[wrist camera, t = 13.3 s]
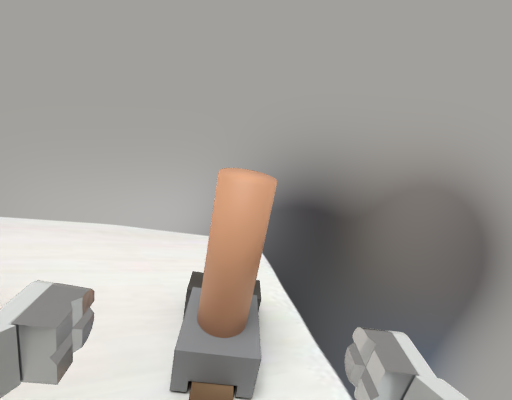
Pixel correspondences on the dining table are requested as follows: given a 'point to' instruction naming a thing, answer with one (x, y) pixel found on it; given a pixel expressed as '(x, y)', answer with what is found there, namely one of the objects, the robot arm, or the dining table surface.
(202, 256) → the dining table surface
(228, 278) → the slider with handle
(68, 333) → the robot arm
